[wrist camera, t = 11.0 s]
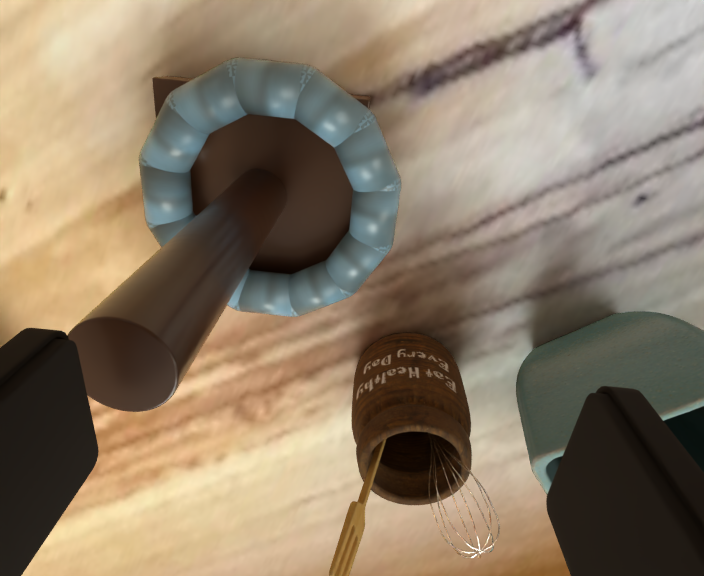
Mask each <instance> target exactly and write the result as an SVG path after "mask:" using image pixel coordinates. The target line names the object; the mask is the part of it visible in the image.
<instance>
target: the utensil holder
mask: <svg viewBox="0 0 704 576" xmlns="http://www.w3.org/2000/svg"><path fill="white" fill-rule="evenodd" d="M352 430H353V435H354V439H355V442H356V444H357V448H356V455H357V462H358V467H359V472H360V475H361V477H362V479H363V481H364V484H363V487H362V490H361V493H360V496H359V499H358V502H354V501H353V502H352V503H351V504H350V507H349V510H348V513H347V516H346V519H345V522H344V526H343V529H342V532H341V535H340V539H339V542H338V545H337V548H336V551H335V555H334V558H333V561H332V564H331V568H330V571H329V576H349V574H350V571H351V568H352V565H353V562H354V559H355V556H356V553H357V550H358V547H359V544H360V541H361V538H362V535H363V531H364V527H365V506H366V503H367V500H368V496H369V493H370V490H372V491H373V492H374V493H375V494H377V495H379V496H380V497H382V498H384V499H386V500H389V501H391V502H395V503H399V504H405V505H425V504H430V505H431V509H432V512H433V515H434V517H435V514H434V511H433V508H432V504H431V503H434V502H438V507H439V501H440V502H441V504H442V501H441V500H443V499H445V498H447V497H449V496H451V495H452V496H453V494H454V493H455V492H457V491H458V490H460V492H461V489H460V488H461V487H462V486H463V484H465V482H466V480H467V478H468V476H469V474H471V475H472V476H473V477H474V479H475V481H476V483H477V485H478V487H479V489H480V491H481V493H482V490H481V488H480V486H479V484H480V485H481V483H480V482H479V481H478V480H477V479H476V478H475V476H474V475H473V474H472V472H471V471H470V470H471V456H472V455H471V444H470V440H469V437H470V431H471V419H470V412H469V407H468V402H467V398H466V394H465V390H464V386H463V382H462V379H461V375H460V372H459V369H458V366H457V364H456V362H455V360H454V358H453V356H452V355H451V353H450V352H449V351H448V350H447V349H446V348H445V347H444V346H443V345H442V344H441V343H439V342H438V341H436V340H434V339H433V338H430V337H428V336H425V335H422V334H417V333H398V334H393V335H389V336H387V337H384V338H382V339H380V340H378V341H376V342H375V343H374V344H372V345H371V346H370V347H369V348H368V349H367V350H366V351H365V352H364V354H363V355H362V357H361V358H360V360H359V363H358V365H357V369H356V372H355V378H354V387H353V401H352ZM477 481H478V482H477ZM478 483H479V484H478ZM465 486H466V487H467V485H466V484H465ZM481 487H482V488H483V486H482V485H481ZM467 489H468V490H469V488H468V487H467ZM483 490H484V492H485V493H486V491H485V489H484V488H483ZM469 492H470V493H471V491H470V490H469ZM461 495H462V497H463V499H464V496H463V494H462V492H461ZM471 495H472V496H473V494H472V493H471ZM482 495H483V493H482ZM486 495H487V493H486ZM487 497H488V495H487ZM473 498H474V496H473ZM483 498H484V500H485V502H486V499H485V497H484V495H483ZM453 499H454V501H455V498H454V496H453ZM488 499H489V497H488ZM474 500H475V498H474ZM489 501H490V499H489ZM464 502H465V504H466V501H465V499H464ZM475 502H476V503H477V501H476V500H475ZM490 503H491V501H490ZM455 504H456V501H455ZM477 505H478V503H477ZM486 505H487V508H488V511H489V516H490V529H489V527H488V525H487V522H486V520H485V518H484V515H483V513H482V511H481V509H480V507H479V505H478V507H479V509H480V512H481V514H482V516H483V518H484V520H485V523H486V525H487V527H488V530H489V535H488V538H487V540H486V542H485V544H484V546H483V547H482V548H481V549H480V544H479V539H478V535H477V532H476V529H475V525H474V522H473V519H472V516H471V514H470V511H469V508H468V506H467V504H466V507H467V509H468V512H469V514H470V517H471V520H472V523H473V526H474V529H475V533H476V536H477V540H478V545H479V550H478V549H476V548H474V546H473V544H472V541H471V539H470V537H469V534H468V532H467V529H466V527H465V525H464V522H463V520H462V517H461V515H460V512H459V509H458V507H457V504H456V507H457V510H458V512H459V515H460V517H461V520H462V522H463V525H464V527H465V530H466V532H467V535H468V537H469V540H470V542H471V544H472V546H471V545H470V544H469V543H467V542H466V541H465V540H464V539H463V538H462V537H461V536H460V535H459V533H458V532H457V531H456V530H455V528H454V527H453V525H452V524H451V522H450V520H449V518H448V516H447V513H446V511H445V508H444V506H443V504H442V507H443V509H444V512H445V514H446V516H447V518H448V521H449V522H450V524H451V526H452V527H453V529H454V530H455V532H456V533H457V534H458V535H459V537H460V538H461V539H462V540H463V541H464V542H465V543H466V544H468V545H469V546H470V547H472V548H473V549H474V551H472V552H469V551H463V550H460V549H458V548H456V547H454V546H453V544H452V542H451V539H450V537H449V534H448V532H447V529H446V527H445V524H444V521H443V518H442V515H441V511H440V507H439V512H440V515H441V519H442V522H443V525H444V527H445V530H446V532H447V535H448V537H449V540H450V542H451V544H452V545H451V544H450V543H449V542H448V541H447V540H446V538H445V537H444V536H443V534H442V531H441V529H440V527H439V524H438V522H437V519H436V517H435V520H436V522H437V525H438V527H439V530H440V532H441V534H442V536H443V538H444V539H445V540H446V542H447V543H448V544H449V545H451V546H452V547H453V548H454V550H455V551H456V552H457V553H458V551H457V550H459V551H462V552H466V553H476V554H475V555H473V556H469V557H466V556H463V555H461V554H460V553H458V554H459V555H460V556H462V557H465V558H472V557H474V556H476V555H477V556H478V553H479V552H480V557H479V556H478V557H479V558H481V552H483V553H490V552H491V551H492V550H493V547H494V543H495V542H496V541H497V539H498V536H499V532H500V524H499V520H498V517H497V514H496V512H495V510H494V507H493V505H492V503H491V506H492V508H493V510H494V513H495V515H496V518H497V520H498V526H499V530H498V535H497V538H496V540H495V541H494V542H493V537H492V534H491V515H490V510H489V507H488V504H487V502H486ZM490 535H491V538H492V544H491V545H490V546H489V547H487V548H485V549H483V548H484V547H485V545H486V543H487V541H488V539H489V536H490ZM491 546H492V549H491V550H490V551H488V552H485V551H484V550H486V549H488V548H490V547H491ZM456 549H457V550H456ZM476 550H477V551H476Z"/></svg>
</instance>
